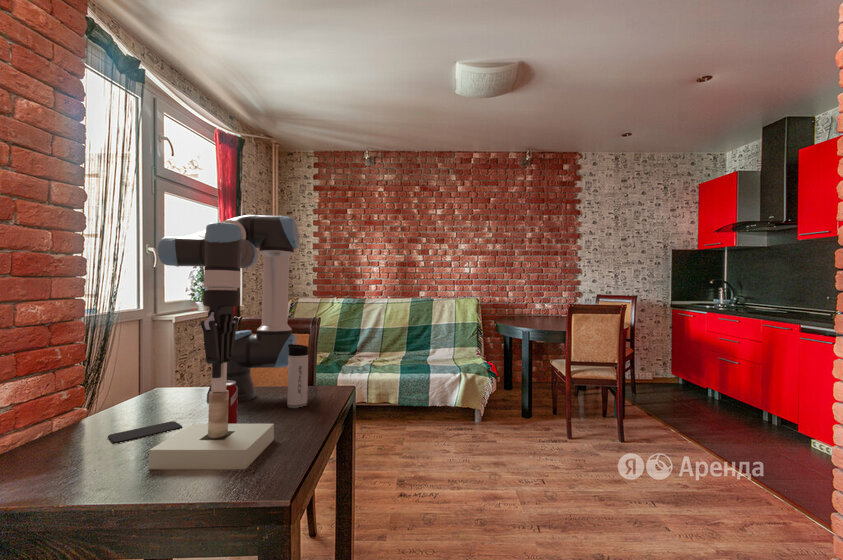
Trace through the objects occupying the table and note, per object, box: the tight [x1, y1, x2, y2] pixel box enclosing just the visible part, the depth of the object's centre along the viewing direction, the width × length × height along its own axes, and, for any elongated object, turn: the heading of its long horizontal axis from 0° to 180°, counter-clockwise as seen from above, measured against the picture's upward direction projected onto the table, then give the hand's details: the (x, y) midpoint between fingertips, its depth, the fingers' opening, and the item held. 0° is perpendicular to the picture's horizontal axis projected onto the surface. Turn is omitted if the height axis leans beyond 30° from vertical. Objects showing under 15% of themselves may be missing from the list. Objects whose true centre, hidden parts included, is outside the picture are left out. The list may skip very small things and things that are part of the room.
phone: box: [107, 420, 183, 444], centre depth 99 cm, size 7×1×15 cm
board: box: [148, 423, 275, 470], centre depth 87 cm, size 16×20×4 cm
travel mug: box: [286, 344, 309, 409], centre depth 124 cm, size 6×7×20 cm
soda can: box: [210, 381, 239, 424], centre depth 104 cm, size 7×7×12 cm
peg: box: [207, 390, 229, 440], centre depth 87 cm, size 4×4×14 cm
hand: (218, 391), depth 87 cm, fingers closed
